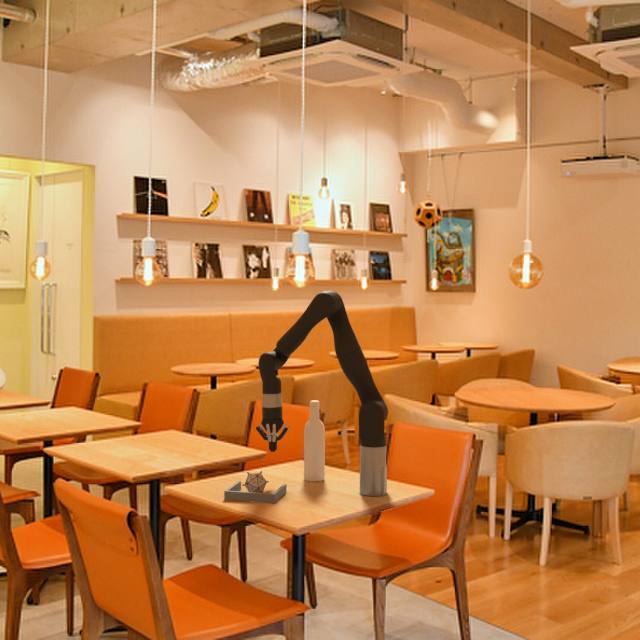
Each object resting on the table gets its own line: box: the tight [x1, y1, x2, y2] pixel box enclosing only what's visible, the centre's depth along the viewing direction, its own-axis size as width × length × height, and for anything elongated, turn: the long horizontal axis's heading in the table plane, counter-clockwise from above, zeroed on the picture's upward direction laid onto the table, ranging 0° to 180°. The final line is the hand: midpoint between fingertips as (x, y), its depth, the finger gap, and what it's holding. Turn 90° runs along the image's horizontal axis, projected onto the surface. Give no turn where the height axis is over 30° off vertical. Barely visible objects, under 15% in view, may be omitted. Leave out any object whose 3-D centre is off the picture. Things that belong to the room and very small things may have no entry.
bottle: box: [303, 399, 326, 482], centre depth 318 cm, size 8×8×30 cm
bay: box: [223, 480, 288, 504], centre depth 294 cm, size 18×15×3 cm
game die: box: [242, 470, 269, 493], centre depth 296 cm, size 9×8×10 cm
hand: (273, 451), depth 313 cm, fingers closed
